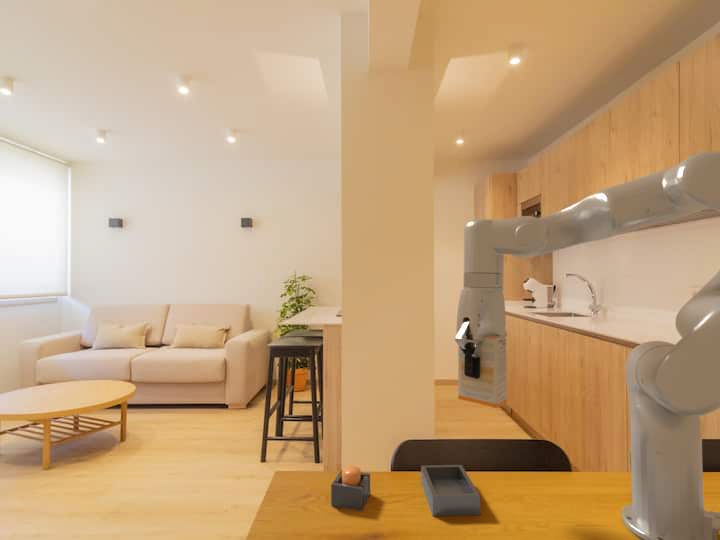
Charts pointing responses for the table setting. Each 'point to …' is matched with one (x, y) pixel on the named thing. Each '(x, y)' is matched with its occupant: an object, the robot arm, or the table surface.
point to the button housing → (350, 493)
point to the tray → (449, 490)
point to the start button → (351, 476)
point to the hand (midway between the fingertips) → (482, 373)
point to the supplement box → (485, 374)
